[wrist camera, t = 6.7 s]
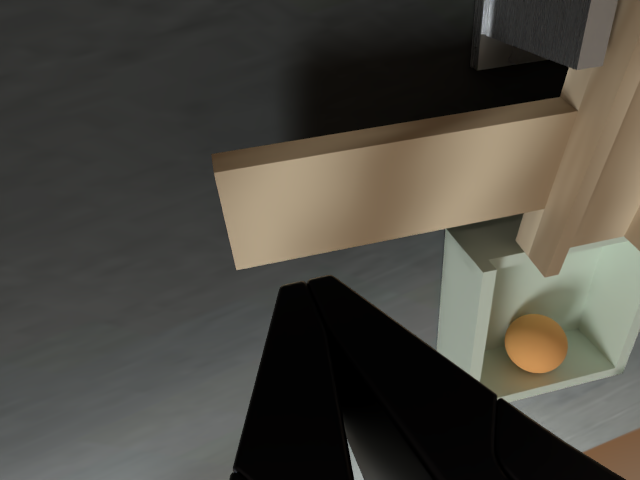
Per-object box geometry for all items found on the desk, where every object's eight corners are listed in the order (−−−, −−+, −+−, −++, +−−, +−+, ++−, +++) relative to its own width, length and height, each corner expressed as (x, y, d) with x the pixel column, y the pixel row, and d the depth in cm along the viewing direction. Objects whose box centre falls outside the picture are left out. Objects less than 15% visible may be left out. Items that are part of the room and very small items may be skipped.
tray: (619, 193, 24) (678, 230, 21) (579, 328, 29) (622, 373, 26) (445, 228, 23) (483, 272, 20) (435, 362, 28) (464, 413, 25)
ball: (548, 355, 27) (540, 303, 27) (585, 373, 24) (577, 315, 24) (498, 368, 27) (490, 314, 27) (529, 387, 24) (520, 328, 24)
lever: (983, -672, 9) (1462, -942, 6) (603, 195, 23) (678, 264, 19) (8, -759, 7) (-144, -1307, 3) (239, 267, 20) (254, 360, 17)
